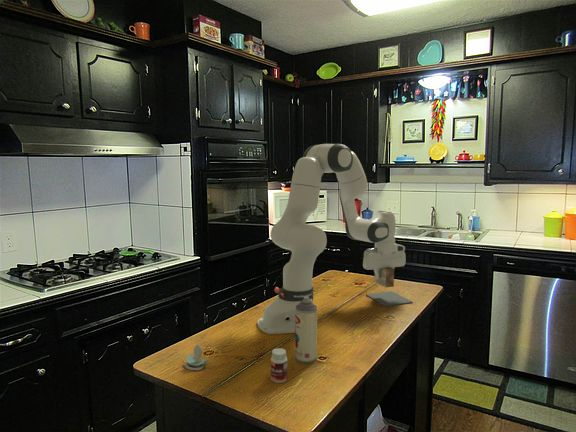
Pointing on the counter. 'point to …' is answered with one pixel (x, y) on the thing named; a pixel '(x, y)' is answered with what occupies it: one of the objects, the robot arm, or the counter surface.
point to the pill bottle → (279, 365)
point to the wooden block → (385, 277)
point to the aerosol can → (306, 331)
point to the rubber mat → (389, 298)
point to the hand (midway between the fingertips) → (383, 277)
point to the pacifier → (197, 361)
